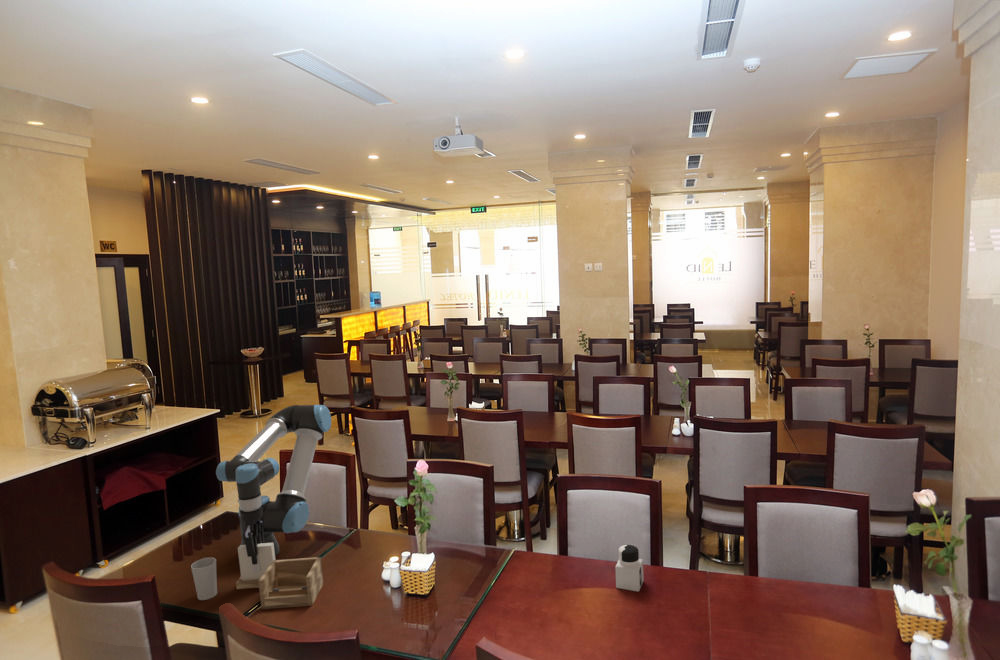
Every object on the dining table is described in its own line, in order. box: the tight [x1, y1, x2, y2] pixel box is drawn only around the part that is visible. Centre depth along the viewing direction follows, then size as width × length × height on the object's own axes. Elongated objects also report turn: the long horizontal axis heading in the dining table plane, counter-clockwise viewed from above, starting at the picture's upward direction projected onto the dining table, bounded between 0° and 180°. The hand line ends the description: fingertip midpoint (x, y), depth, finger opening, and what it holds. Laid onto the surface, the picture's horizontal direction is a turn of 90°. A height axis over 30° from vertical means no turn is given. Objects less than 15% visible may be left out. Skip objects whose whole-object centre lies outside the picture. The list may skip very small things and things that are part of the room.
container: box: [615, 544, 644, 592], centre depth 198 cm, size 8×8×13 cm
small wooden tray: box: [235, 576, 260, 590], centre depth 214 cm, size 5×14×2 cm, turn 92°
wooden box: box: [258, 556, 324, 610], centre depth 204 cm, size 14×17×10 cm
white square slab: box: [237, 543, 276, 581], centre depth 213 cm, size 3×12×13 cm, turn 92°
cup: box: [190, 557, 218, 601], centre depth 208 cm, size 8×8×12 cm
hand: (258, 569), depth 214 cm, fingers closed on white square slab, 2 cm apart
